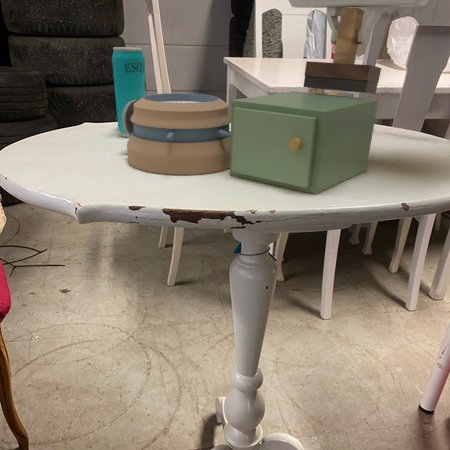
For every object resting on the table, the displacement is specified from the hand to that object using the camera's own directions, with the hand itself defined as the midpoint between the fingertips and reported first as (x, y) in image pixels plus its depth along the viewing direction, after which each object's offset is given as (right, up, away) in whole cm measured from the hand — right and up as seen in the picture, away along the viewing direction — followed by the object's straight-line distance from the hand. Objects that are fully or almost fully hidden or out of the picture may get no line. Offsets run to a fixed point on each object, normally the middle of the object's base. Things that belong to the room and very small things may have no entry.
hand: (349, 44), depth 68 cm
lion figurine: (+4, +1, +36) cm, 36 cm away
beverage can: (-36, -6, +22) cm, 43 cm away
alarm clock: (-26, -14, +8) cm, 31 cm away
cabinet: (-7, -18, +1) cm, 20 cm away
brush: (-1, -6, +2) cm, 6 cm away
